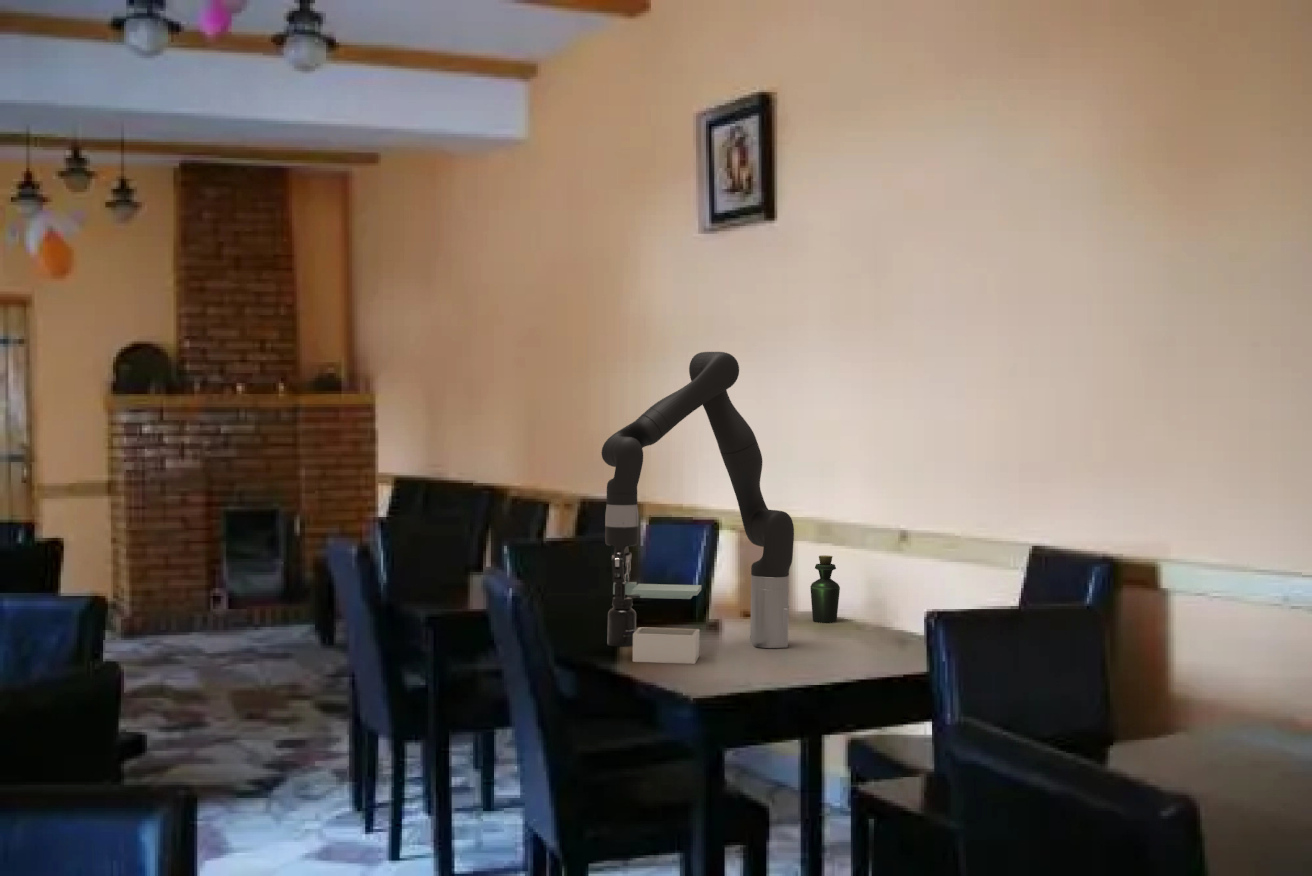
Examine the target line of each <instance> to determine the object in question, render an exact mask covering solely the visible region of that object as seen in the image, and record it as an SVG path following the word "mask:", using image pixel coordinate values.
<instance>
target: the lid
mask: <svg viewBox="0 0 1312 876" xmlns="http://www.w3.org/2000/svg"><path fill="white" fill-rule="evenodd" d="M701 591H702V584H664V583H663V584H662V583H661V584H658V583H637V581H629V582H626V583H625V595H628V596H630V595H632V596H635V595H639V598H641V599H673V600H674V599H677V600H678V599H681V600H691V599H692V598H693V597H694V596H698V595H699V594H700V592H701ZM612 595H615V584H614V583H613V584H612Z"/></svg>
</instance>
